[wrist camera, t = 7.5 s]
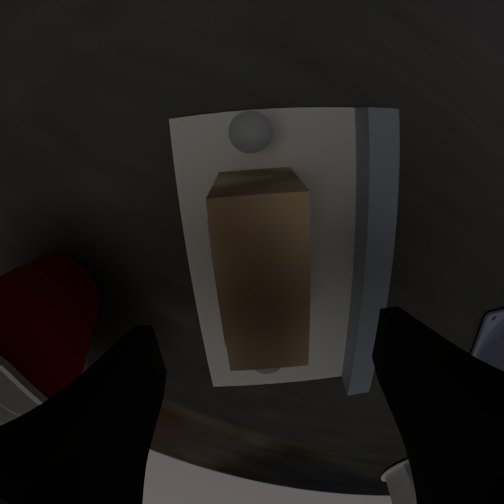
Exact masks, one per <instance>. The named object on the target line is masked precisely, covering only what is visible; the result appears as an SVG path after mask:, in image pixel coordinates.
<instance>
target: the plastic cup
mask: <svg viewBox="0 0 504 504" xmlns="http://www.w3.org/2000/svg"><path fill="white" fill-rule="evenodd" d="M99 302H100V294H99V291H98V289H97V286H96V283H95V280H94V279H93V278H92V276H91V275H90V274H89V272H88V271H87V270H86V268H85V267H84V266H82V265H81V264H80V263H78V262H77V261H76V260H74V259H73V258H71V257H68V256H64V255H61V254H54V255H48V256H44V257H40V258H38V259H36V260H34V261H32V262H30V263H28V264H26V265H24V266H22V267H20V268H15V269H13V270H11V271H10V272H8V273H6V274H4V275H2V276H0V425H3V424H5V423H7V422H9V421H11V420H13V419H15V418H17V417H19V416H21V415H23V414H25V413H27V412H28V411H30V410H32V409H33V408H35V407H37V406H38V405H40V404H42V403H44V402H45V401H47V400H48V399H50V398H51V397H52V396H54V395H55V394H57V393H58V392H60V391H61V390H62V389H64V388H65V387H66V386H68V385H69V384H70V383H71V382H73V381H74V380H75V379H76V378H77V377H78V376H80V375H81V374H82V371H83V367H84V363H85V360H86V356H87V352H88V349H89V345H90V342H91V334H92V331H93V328H94V326H95V323H96V320H97V317H98V314H99Z"/></svg>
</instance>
